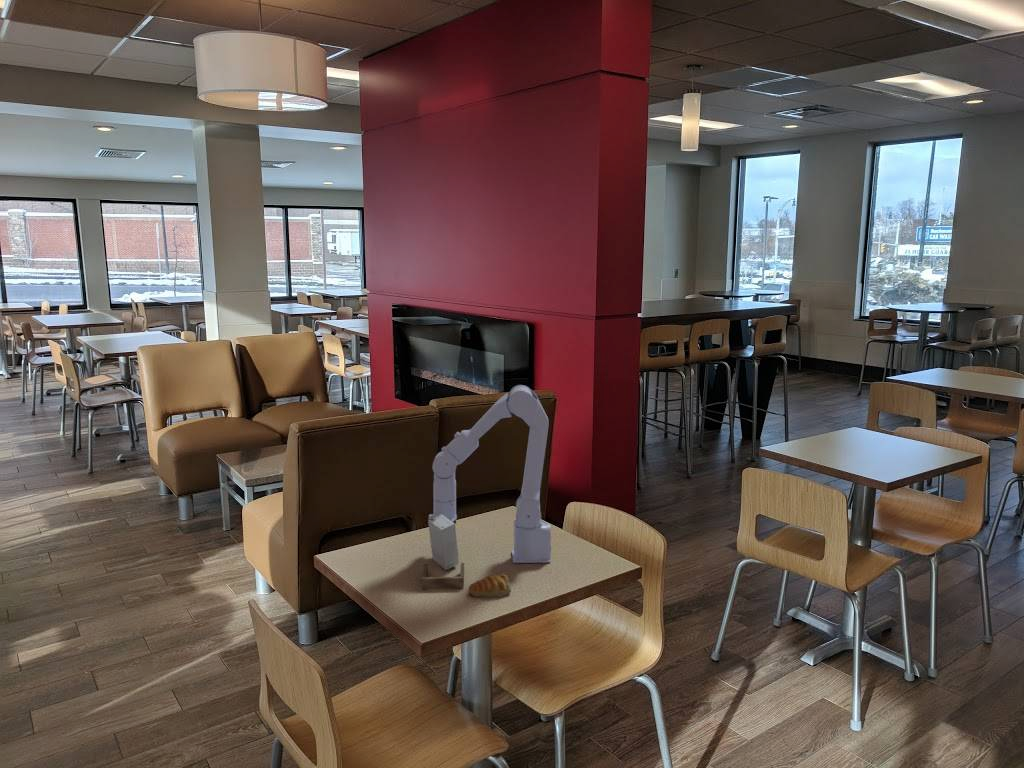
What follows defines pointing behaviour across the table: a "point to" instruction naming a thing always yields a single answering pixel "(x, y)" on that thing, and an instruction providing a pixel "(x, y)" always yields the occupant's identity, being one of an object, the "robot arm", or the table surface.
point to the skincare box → (443, 541)
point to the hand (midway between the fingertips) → (444, 550)
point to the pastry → (491, 586)
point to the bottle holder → (442, 580)
